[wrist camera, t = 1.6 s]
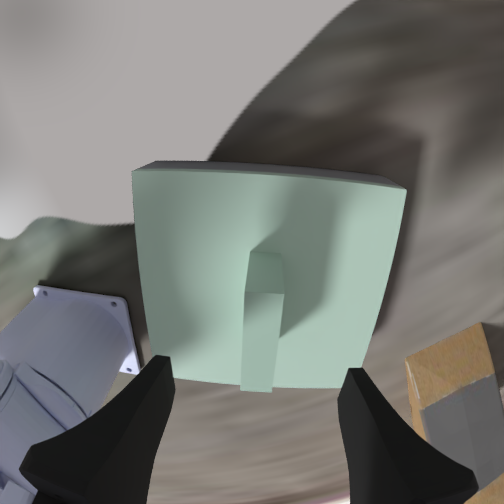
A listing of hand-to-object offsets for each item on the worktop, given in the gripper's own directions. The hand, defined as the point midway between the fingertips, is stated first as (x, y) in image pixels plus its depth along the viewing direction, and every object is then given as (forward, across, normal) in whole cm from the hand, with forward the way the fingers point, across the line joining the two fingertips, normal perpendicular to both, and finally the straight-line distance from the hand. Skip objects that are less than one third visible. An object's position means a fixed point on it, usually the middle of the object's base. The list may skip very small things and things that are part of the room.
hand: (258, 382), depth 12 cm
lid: (+7, 0, 0) cm, 7 cm away
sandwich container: (+10, -20, +12) cm, 26 cm away
